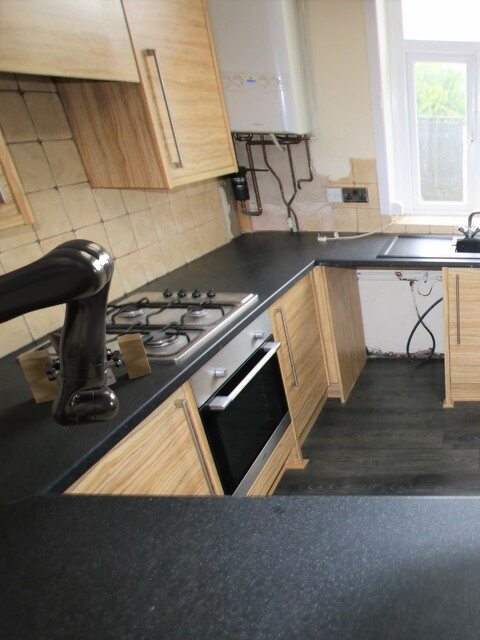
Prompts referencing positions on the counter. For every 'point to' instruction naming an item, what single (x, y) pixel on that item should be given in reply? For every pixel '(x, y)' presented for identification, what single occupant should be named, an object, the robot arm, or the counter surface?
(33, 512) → the counter surface
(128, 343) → the birch block
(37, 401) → the birch block
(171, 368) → the counter surface
